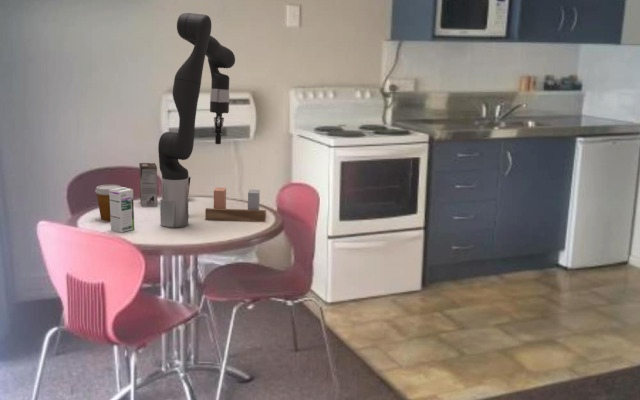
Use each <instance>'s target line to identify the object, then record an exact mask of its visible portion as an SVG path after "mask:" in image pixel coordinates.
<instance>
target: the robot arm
mask: <svg viewBox="0 0 640 400" xmlns="http://www.w3.org/2000/svg"><path fill="white" fill-rule="evenodd" d="M176 30H177V31H176V32H177V34H178V35H179V37H180V38H181V39H183V40H184V41H186V42H189V43H190V44H191V45H193V49H192V51H191V53H190V55H189V57H188V58H187V59H186V60H185V61H184V62H183V64H182V65H181V66H180V67H179V68H178V70H177V71H176V73H175V75H174V79H173V85H172V98H173V102H174V104H175V105H174V106H175V108H176V110H177V113H178V119H179V121H178V131H177V132H173V131H165V132H163V133H162V134H161V136H160V137H159V139H158V140H159V141H158V147H157V149H158V151H157V152H158V161H159V162H158V163H159V170H160V172H161V199H160V200H159V205H160V206H159V207H160V208H159V209H160V210H159V212H160V216H159V217H160V219H159V220H160V226H162V227H166V228H171V229H176V228H184V227H187V226H188V225H189V196H188V175H189V170H188V168H186V167H184V166H183V165H182V164H181V163H180V162H179V160H182V161H186V160H189V158H190V157H191V155H192V153H193V150H194V149H193V148H194V143H195V128H196V115H197V109H198V102H199V99H200V98H199V97H200V93H201V85H202V78H203V70H204V65H205V60H206V57H207V62H208V66H209V71H210V76H211V77H210V78H211V84H210V85H211V88H210V89H211V90H210V94H209V95H210V96H209V99H210V100H209V101H210V102H209V112H210V113H212V114H213V113H215V116H214V117H213V122H214V126H213V127H214V128H213V129H215V131H214V134H215V137H214V138H215V140H214V142H215V145H221V143H222V134H223V129H224V122H225V117H223V114H228V113H230V112H229V111H230V110H229V109H230V77H229V75H228V74H225V73H221V72H220V70H219V69H230V68H232V67H234V65H235V63H236V57H235V56H236V55H235V54H234V52H233V51H232V50H231V49H230V48H228V47H226V46H224V45H222V44H221V43H220V42H219V41H218V39H216V38H215V37H213V36H212V35H211V33H212V19H211V17H210V15H207V14H203V13H202V14H200V13H193V12H185V13H181V14H180V15H179V16H178V18H177V21H176Z"/></svg>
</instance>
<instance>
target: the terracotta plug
mask: <svg viewBox="0 0 640 400" xmlns="http://www.w3.org/2000/svg"><path fill="white" fill-rule="evenodd" d="M213 209H227V187H217V186H216V187H215V188H214V190H213Z"/></svg>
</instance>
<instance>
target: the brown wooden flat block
mask: <svg viewBox="0 0 640 400" xmlns="http://www.w3.org/2000/svg"><path fill="white" fill-rule="evenodd" d="M204 210H205V211H204V212H205V214H204V215H205V221H229V222H256V223H257V222H259V223H261V222H262V223H264V222H265V223H266V221H265V220H266V216H267V210H266V209H259V210H248V209H238V208H226V209H214V207H213V208H212V207H211V208H210V207H209V208H207V207H206V208H205V209H204Z"/></svg>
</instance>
